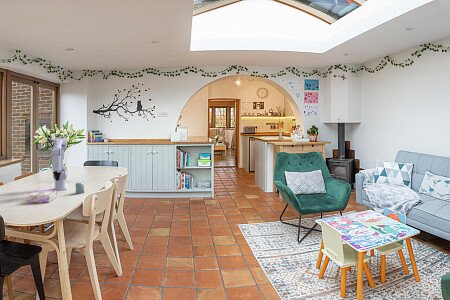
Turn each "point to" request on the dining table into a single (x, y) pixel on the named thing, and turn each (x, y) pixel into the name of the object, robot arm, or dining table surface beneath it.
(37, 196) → the candy box
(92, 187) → the dining table surface
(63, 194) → the dining table surface
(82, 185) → the rounded blue cylinder
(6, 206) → the dining table surface
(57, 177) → the robot arm
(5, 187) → the dining table surface
